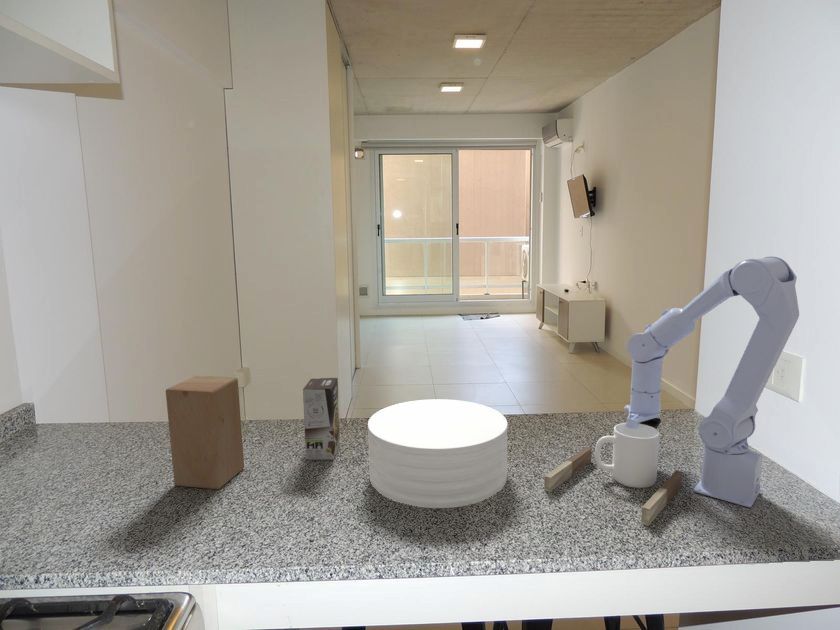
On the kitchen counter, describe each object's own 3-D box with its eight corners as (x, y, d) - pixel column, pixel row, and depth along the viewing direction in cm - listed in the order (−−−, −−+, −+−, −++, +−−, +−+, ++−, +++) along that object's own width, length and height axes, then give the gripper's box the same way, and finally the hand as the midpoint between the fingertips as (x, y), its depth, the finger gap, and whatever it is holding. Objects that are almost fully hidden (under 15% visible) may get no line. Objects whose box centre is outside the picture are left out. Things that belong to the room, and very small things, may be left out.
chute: (681, 486, 106) (682, 472, 105) (648, 526, 93) (649, 509, 92) (585, 459, 119) (586, 446, 118) (544, 490, 105) (544, 475, 105)
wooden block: (219, 490, 108) (211, 391, 104) (173, 486, 110) (164, 389, 106) (245, 468, 117) (238, 376, 114) (202, 464, 119) (195, 375, 116)
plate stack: (467, 439, 132) (467, 392, 130) (534, 490, 106) (535, 433, 104) (353, 459, 121) (351, 409, 119) (397, 522, 95) (396, 459, 94)
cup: (663, 489, 105) (666, 438, 104) (599, 488, 106) (601, 438, 104) (647, 469, 114) (650, 422, 112) (588, 469, 114) (590, 422, 112)
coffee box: (334, 460, 121) (331, 388, 118) (305, 460, 121) (301, 389, 118) (341, 443, 130) (338, 377, 127) (314, 443, 130) (310, 377, 127)
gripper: (639, 378, 122) (635, 436, 124) (612, 394, 111) (609, 457, 114) (672, 384, 117) (668, 444, 120) (648, 401, 107) (644, 467, 109)
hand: (642, 451), depth 116 cm, fingers closed
